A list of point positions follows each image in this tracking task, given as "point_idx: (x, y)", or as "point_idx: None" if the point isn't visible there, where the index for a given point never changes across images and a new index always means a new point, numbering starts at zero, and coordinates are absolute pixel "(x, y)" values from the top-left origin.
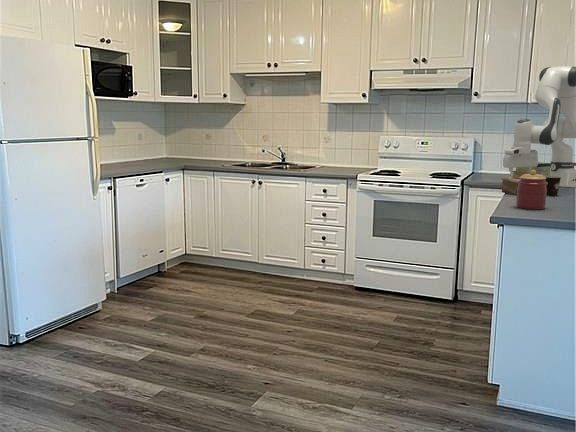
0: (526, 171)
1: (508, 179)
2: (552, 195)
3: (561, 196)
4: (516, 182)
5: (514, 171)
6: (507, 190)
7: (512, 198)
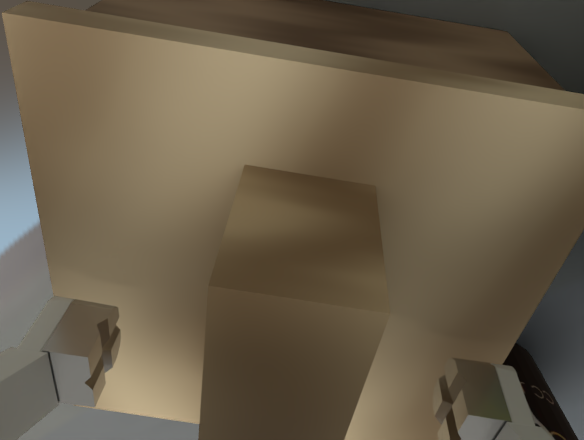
0: (510, 434)
1: (49, 239)
2: None
3: None
4: None
5: (207, 334)
6: None
7: (3, 330)
